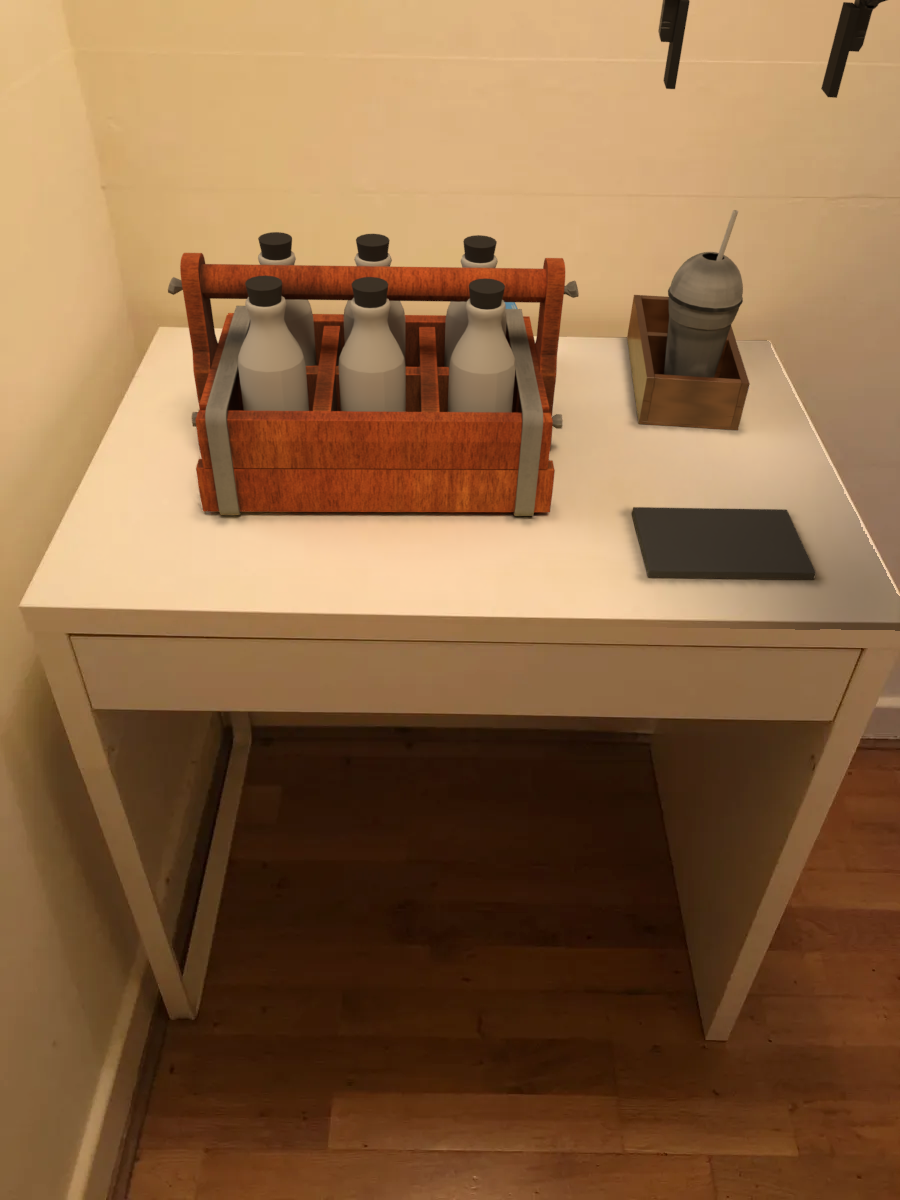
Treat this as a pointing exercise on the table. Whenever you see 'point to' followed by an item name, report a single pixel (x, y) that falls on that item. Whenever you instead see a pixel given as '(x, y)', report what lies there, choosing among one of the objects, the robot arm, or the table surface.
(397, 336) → the milk bottle holder
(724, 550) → the mat
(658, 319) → the wooden compartment box
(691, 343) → the beverage cup
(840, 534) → the table surface
